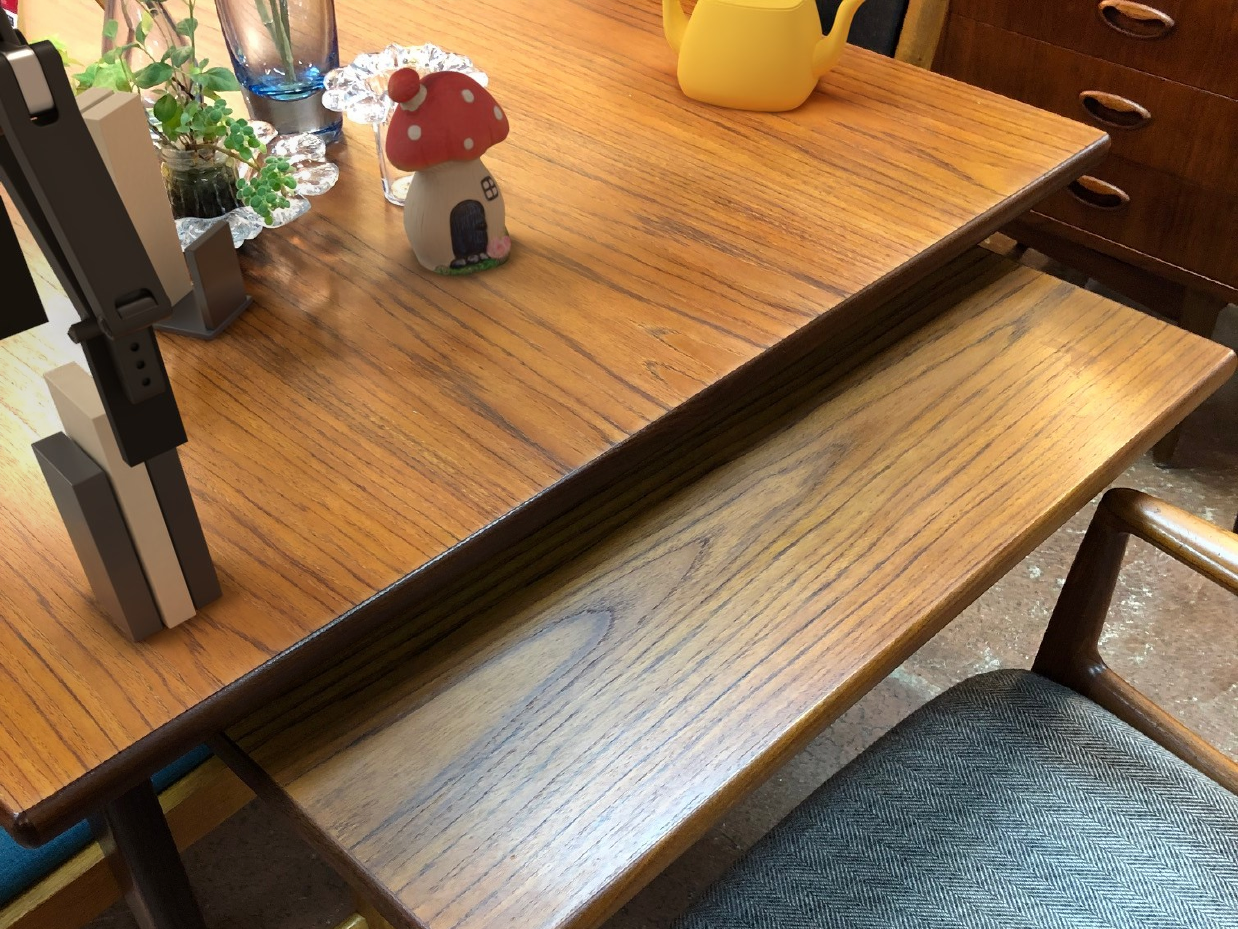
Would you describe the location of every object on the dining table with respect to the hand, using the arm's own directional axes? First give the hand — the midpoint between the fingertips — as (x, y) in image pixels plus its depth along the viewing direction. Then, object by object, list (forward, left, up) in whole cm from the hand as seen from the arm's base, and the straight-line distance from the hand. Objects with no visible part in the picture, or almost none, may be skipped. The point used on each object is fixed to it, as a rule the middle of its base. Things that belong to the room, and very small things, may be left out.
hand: (83, 386), depth 55 cm
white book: (0, 0, -14) cm, 14 cm away
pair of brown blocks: (0, 0, -14) cm, 14 cm away
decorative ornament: (0, +40, -14) cm, 43 cm away
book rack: (-16, +26, -14) cm, 34 cm away
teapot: (+13, +81, -14) cm, 83 cm away
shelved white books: (-18, +26, -13) cm, 34 cm away
